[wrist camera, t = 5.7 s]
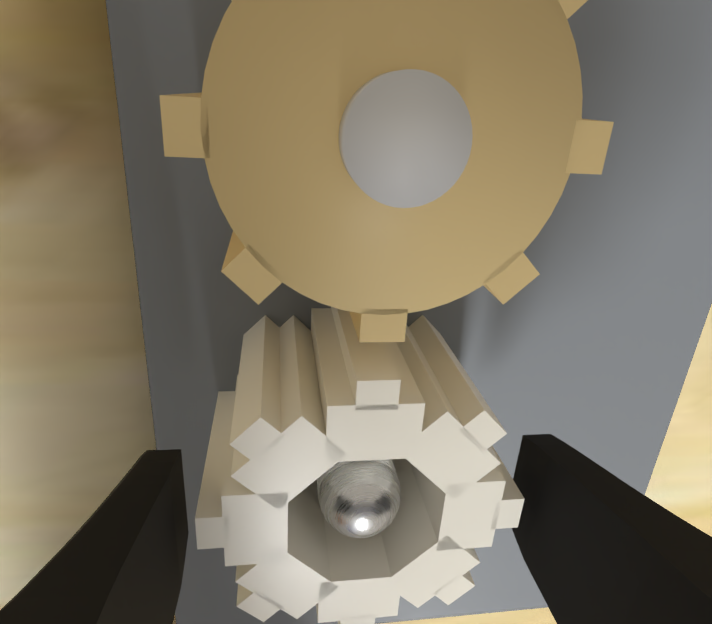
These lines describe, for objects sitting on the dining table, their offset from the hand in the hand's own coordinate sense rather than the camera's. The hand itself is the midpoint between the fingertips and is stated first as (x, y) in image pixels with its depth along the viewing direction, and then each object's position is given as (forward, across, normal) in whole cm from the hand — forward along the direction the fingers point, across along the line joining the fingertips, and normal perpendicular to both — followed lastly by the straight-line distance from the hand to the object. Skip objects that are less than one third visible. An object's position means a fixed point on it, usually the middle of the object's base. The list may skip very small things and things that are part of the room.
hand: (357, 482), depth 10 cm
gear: (+3, 0, 0) cm, 3 cm away
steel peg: (+4, 0, 0) cm, 4 cm away
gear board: (+4, -2, -2) cm, 5 cm away
